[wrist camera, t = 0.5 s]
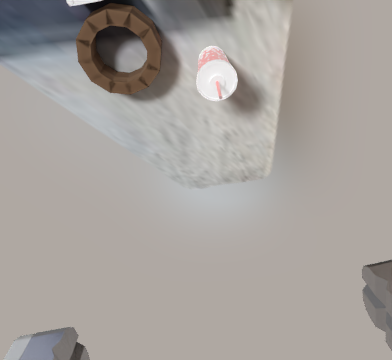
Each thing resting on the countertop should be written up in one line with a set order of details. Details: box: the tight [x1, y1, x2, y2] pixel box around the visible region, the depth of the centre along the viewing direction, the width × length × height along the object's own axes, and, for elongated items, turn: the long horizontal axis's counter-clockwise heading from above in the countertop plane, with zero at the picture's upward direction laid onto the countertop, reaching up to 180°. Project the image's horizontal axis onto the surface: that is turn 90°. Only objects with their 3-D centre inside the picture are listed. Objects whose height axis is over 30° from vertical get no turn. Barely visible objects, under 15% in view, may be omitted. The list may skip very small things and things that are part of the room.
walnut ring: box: [76, 3, 162, 95], centre depth 50 cm, size 12×12×4 cm
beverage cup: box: [196, 46, 238, 101], centre depth 48 cm, size 6×6×14 cm
